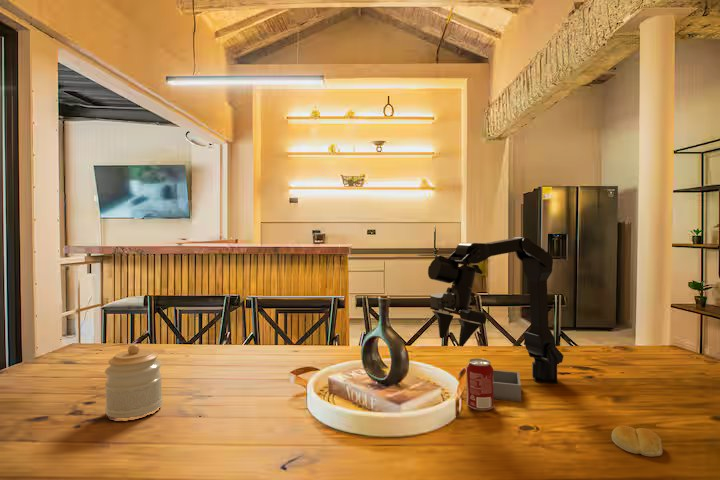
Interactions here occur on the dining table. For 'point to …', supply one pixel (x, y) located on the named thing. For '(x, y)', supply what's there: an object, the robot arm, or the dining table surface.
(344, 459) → the dining table surface
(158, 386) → the jar
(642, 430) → the bread roll
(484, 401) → the soda can
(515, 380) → the grey crate
